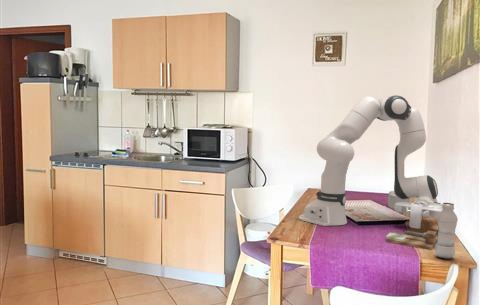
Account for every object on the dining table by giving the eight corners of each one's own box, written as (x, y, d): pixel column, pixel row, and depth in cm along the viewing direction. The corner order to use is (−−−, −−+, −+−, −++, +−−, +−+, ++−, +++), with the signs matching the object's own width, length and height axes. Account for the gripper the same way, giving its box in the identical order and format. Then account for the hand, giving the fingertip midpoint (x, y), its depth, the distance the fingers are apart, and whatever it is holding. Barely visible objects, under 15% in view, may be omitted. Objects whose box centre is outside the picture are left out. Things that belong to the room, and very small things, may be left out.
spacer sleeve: (407, 227, 185) (409, 203, 184) (410, 224, 189) (412, 202, 188) (419, 229, 183) (421, 205, 182) (421, 226, 186) (423, 203, 185)
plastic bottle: (435, 253, 163) (439, 200, 160) (455, 256, 159) (459, 203, 157) (433, 258, 157) (436, 204, 155) (453, 262, 154) (458, 206, 152)
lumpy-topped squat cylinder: (390, 208, 233) (391, 192, 232) (385, 203, 246) (386, 188, 245) (410, 209, 231) (411, 193, 230) (404, 204, 244) (405, 189, 243)
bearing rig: (383, 241, 176) (384, 228, 176) (391, 234, 186) (392, 222, 185) (431, 250, 166) (432, 236, 166) (437, 242, 176) (438, 229, 176)
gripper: (399, 197, 201) (391, 202, 190) (447, 204, 190) (441, 210, 178) (398, 210, 202) (389, 216, 191) (446, 218, 191) (440, 225, 179)
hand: (415, 213), depth 184 cm, fingers closed on spacer sleeve, 4 cm apart
